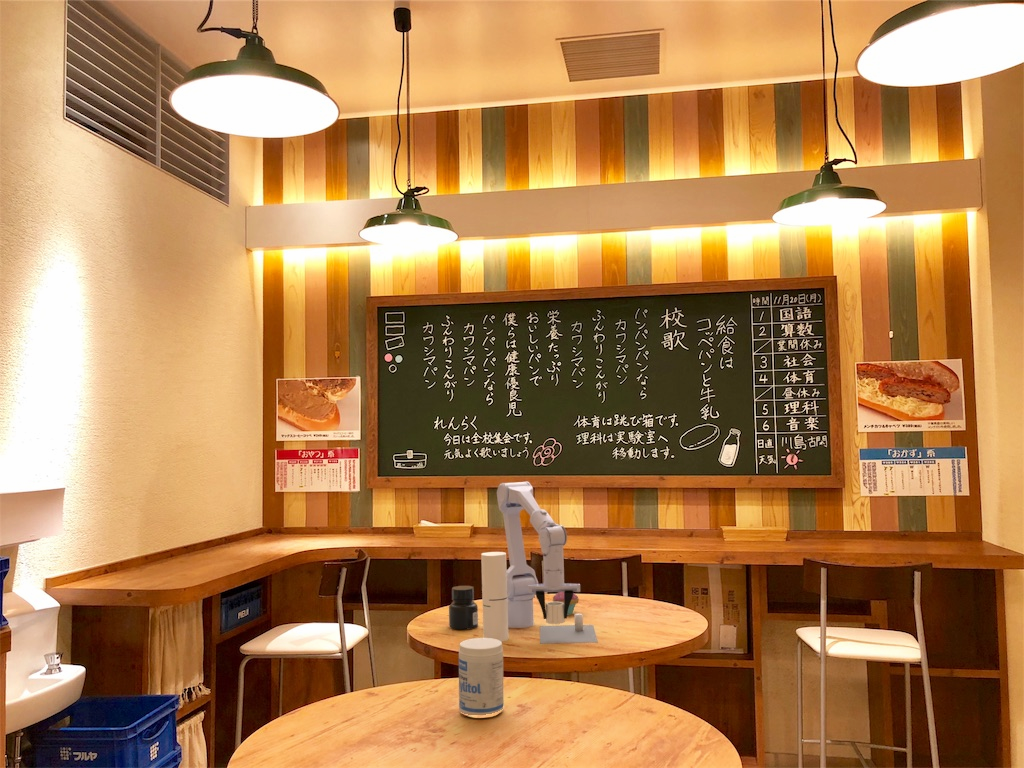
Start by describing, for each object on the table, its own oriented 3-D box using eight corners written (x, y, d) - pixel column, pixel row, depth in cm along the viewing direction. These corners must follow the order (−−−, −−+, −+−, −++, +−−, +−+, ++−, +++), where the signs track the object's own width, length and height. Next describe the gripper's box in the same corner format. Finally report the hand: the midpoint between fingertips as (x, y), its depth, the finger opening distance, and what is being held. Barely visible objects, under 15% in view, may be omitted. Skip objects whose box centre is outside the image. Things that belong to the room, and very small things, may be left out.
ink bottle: (482, 628, 246) (481, 589, 247) (454, 632, 243) (453, 591, 243) (472, 622, 255) (471, 583, 256) (445, 625, 252) (444, 586, 252)
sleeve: (546, 624, 225) (545, 605, 225) (546, 619, 230) (545, 601, 230) (564, 623, 225) (564, 605, 225) (564, 619, 230) (563, 601, 230)
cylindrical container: (505, 646, 225) (503, 555, 227) (480, 645, 227) (478, 555, 228) (510, 639, 232) (508, 551, 234) (486, 638, 234) (484, 551, 235)
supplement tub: (451, 717, 170) (449, 646, 171) (472, 703, 179) (470, 635, 180) (492, 723, 166) (490, 650, 167) (511, 708, 175) (509, 639, 176)
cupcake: (548, 612, 265) (547, 575, 266) (571, 609, 268) (569, 573, 269) (560, 617, 257) (559, 579, 258) (583, 614, 261) (582, 577, 261)
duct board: (540, 647, 223) (539, 626, 223) (540, 629, 243) (539, 610, 243) (598, 645, 223) (597, 625, 223) (593, 628, 243) (592, 609, 243)
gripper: (527, 572, 224) (529, 621, 224) (580, 571, 224) (581, 620, 223) (528, 567, 231) (529, 615, 231) (578, 566, 231) (580, 614, 230)
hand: (555, 617), depth 227 cm, fingers closed on sleeve, 5 cm apart
